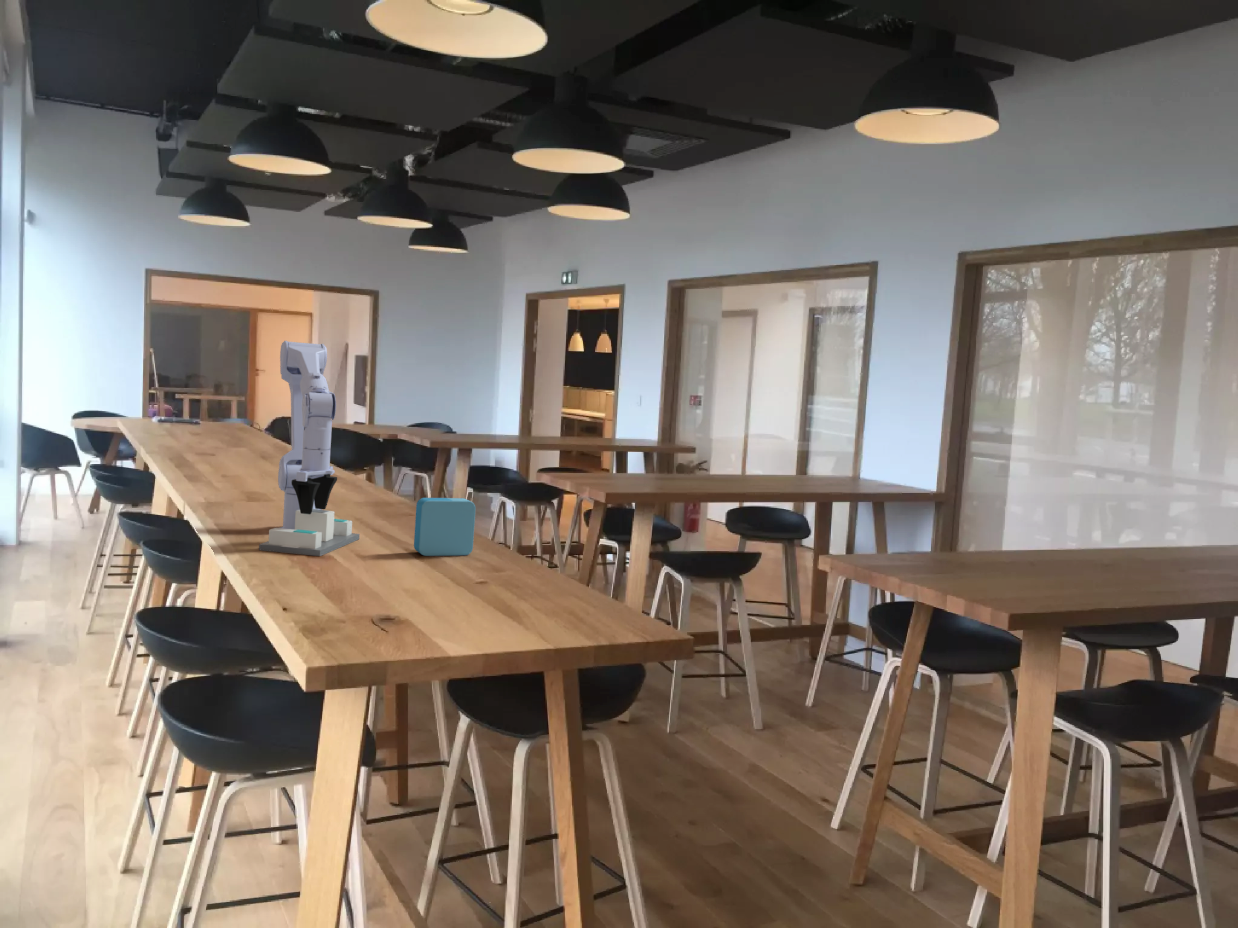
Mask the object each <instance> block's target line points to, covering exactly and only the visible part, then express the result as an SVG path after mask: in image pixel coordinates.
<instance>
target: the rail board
mask: <svg viewBox="0 0 1238 928" xmlns="http://www.w3.org/2000/svg"><path fill="white" fill-rule="evenodd" d="M321 540H322V532H317V531H309V530H294V529H284V528H280V527H274V528H271V529H268V540H267V541H265V542H262V543H259V544H258V551H266V552H274V553H276V552H277V553H284V554H285V553H287V554H293V555H294V554H295V555H305V556H314V557H315V556H316V557H321V556H323V555H326V554H328V553H331V552H334V551H335V550H338V549H340V548H342V547H345V546H348V545H349V544H352V543H354V542H356V541H358V540H360V533H353V521H352V520H348V519H342V518H341V519H339V518H334V530H333V539H331V540H329V541H326V542H324V541H321Z"/></svg>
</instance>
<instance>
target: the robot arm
mask: <svg viewBox="0 0 1238 928" xmlns="http://www.w3.org/2000/svg"><path fill="white" fill-rule="evenodd" d="M279 359H280V360H279V362H280V365H279V366H280V375H281V379H282V380H284V381H285V382H287V383H288V387H289V391H290V426H291V427H290V428H291V436H290V437H291V438H290V439H291V449H290V450H289V451H288V452H286V453H285V454H283V455H282V456H281V458H280V459H279V463H278V473H277V474H278V475H277V480H278V481H277V482H278V483H277V484H278V488H279V489H280V491H281V492H283V493H284V497H283V498H284V499H283V519H282V521H283V522H282V526H281V527H279V528H284V529H294V530H295V513H296V511H297V510H300V512H301V514H311V513H312V509H318V510H327V509H326V508H327V505H328V503H329V499H330V495H331V492H332V490H333V488H334V486H335V484H336V483H337V481H338V477H337V476H333V475H334V474H335V473H336V472H335V471H336V470H335V469H334V466H333V465H332V466H331V465H330V464H331V463H330V462H331V445H332V444H331V443H332V427H333V421H334V420H335V418H336V412H337V400H336V395H335V392H332V391H330V389H329V385H328V381H327V379H326V377H325V376H324V372H325V369H326V366H327V361H328V348H327V346H326V345H325V343H308V342H297V341H296V342H295V341H289V340H284V341H283V342H281V344H280V355H279Z"/></svg>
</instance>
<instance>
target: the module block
mask: <svg viewBox="0 0 1238 928" xmlns="http://www.w3.org/2000/svg"><path fill="white" fill-rule="evenodd" d="M334 519H335V511H334V510H327V509H322V510H318V509H312V513H311V514H301V512H300V510H297V511H296V513H295V530H309V531H317V532H322V540H321V541H324V542H326V541H329V540H331V539H333V530H334Z"/></svg>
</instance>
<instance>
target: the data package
mask: <svg viewBox="0 0 1238 928" xmlns="http://www.w3.org/2000/svg"><path fill="white" fill-rule="evenodd" d="M414 522H415V523H414V538H413V548H414V549H415V551H416V552H417V553H419V554H420V555H422V556H423V557H440V556H441V557H444V556H447V557H450V556H451V557H452V556H453V557H454V556H459V557H460V556H469V555H470V554H471V553H472V552H473V549H474V538H475V537H474V536H475V524H476V523H475V522H476V505H475V503H474V502H473V501H471V500H469V499H467V498H462V497H453V498H452V497H422V498H420V499H418V501H417V502H416V507H415V521H414Z"/></svg>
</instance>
